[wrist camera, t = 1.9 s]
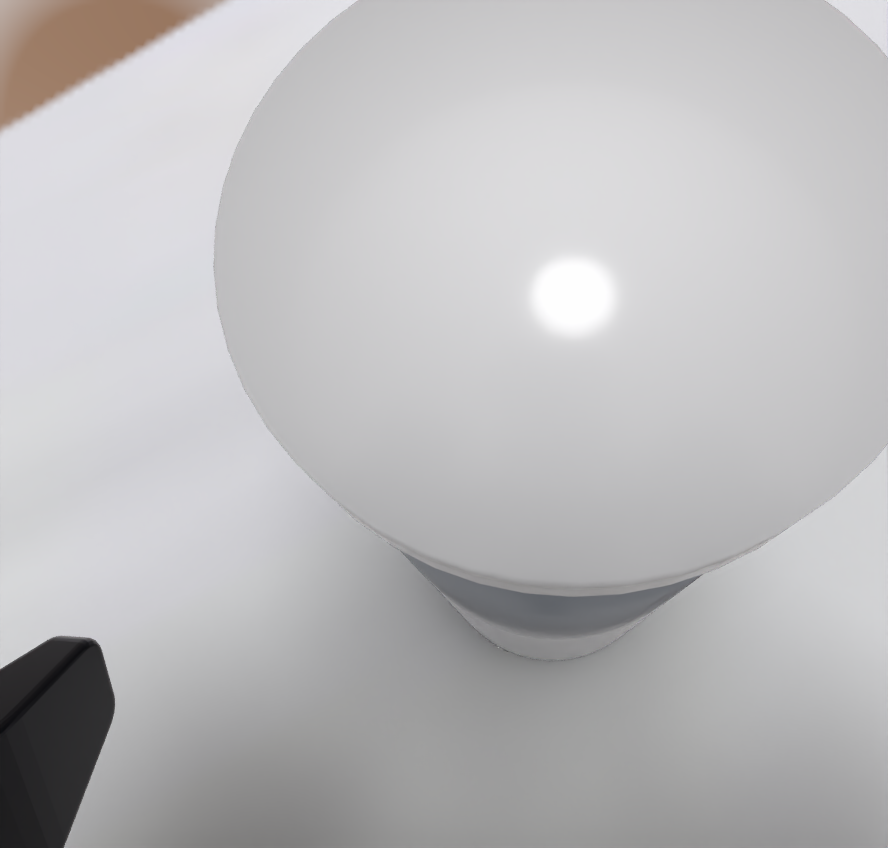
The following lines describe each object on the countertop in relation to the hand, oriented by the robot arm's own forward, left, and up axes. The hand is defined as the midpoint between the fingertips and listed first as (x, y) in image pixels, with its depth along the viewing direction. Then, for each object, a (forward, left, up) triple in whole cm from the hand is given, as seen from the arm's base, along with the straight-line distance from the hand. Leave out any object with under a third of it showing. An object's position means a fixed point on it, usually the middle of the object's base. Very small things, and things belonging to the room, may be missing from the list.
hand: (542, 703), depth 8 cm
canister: (+3, +1, -10) cm, 11 cm away
